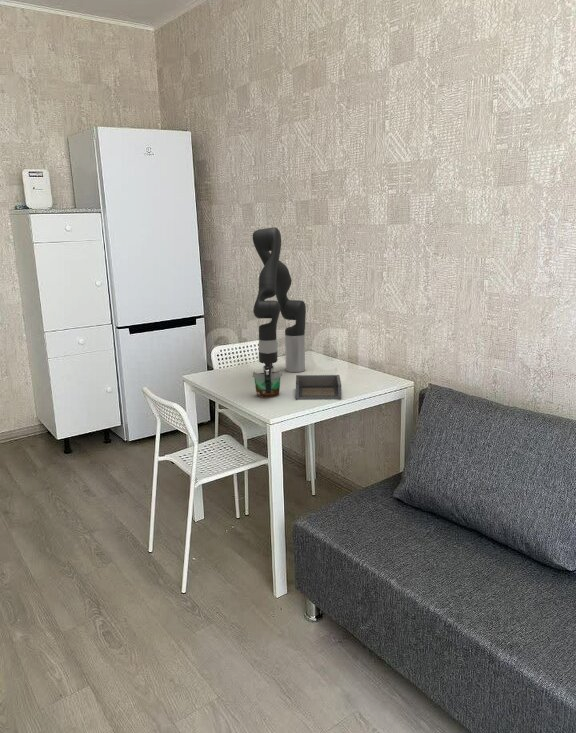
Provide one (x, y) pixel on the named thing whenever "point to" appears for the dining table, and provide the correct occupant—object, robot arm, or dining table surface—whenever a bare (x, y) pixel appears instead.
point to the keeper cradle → (318, 387)
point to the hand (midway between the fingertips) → (268, 390)
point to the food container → (261, 385)
